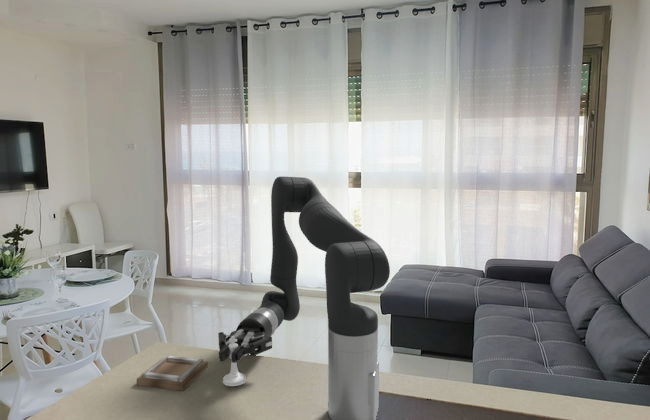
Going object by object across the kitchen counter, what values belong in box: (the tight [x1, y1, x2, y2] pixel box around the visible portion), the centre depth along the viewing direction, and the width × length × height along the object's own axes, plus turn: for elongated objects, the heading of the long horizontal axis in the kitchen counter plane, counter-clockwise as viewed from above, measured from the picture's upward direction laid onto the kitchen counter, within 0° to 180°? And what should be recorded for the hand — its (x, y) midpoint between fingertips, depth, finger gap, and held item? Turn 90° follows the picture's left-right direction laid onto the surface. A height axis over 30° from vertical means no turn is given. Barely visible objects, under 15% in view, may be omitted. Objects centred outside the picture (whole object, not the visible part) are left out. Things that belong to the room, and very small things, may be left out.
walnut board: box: [136, 355, 209, 392], centre depth 107 cm, size 11×11×2 cm
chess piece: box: [222, 336, 247, 387], centre depth 102 cm, size 5×5×10 cm
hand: (227, 357), depth 99 cm, fingers closed on chess piece
